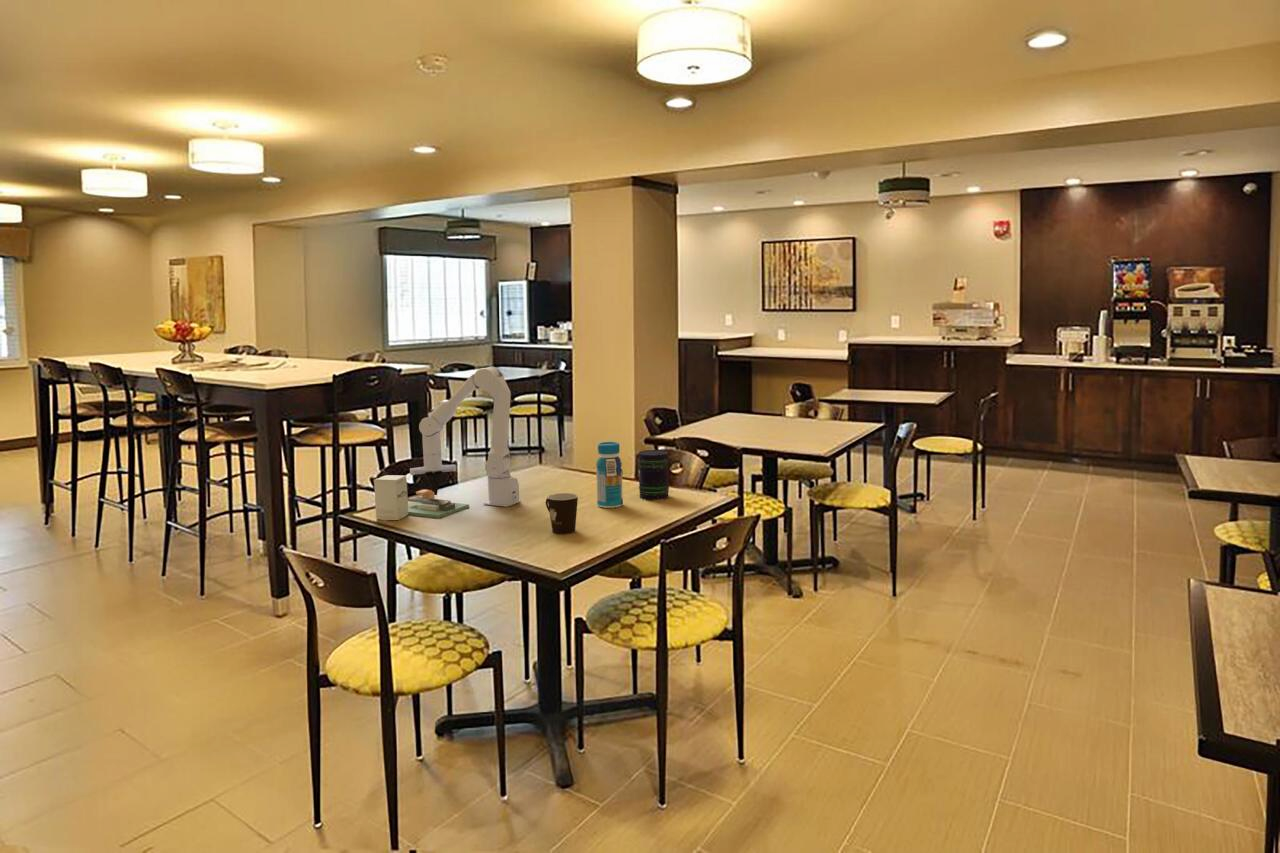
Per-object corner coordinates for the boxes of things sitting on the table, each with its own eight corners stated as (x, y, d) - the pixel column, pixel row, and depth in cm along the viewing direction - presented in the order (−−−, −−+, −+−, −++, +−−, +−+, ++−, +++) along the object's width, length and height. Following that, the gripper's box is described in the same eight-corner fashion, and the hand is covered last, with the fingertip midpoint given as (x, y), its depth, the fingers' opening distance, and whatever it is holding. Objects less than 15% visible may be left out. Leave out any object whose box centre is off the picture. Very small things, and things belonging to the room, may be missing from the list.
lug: (434, 501, 276) (434, 489, 276) (424, 504, 272) (423, 492, 271) (427, 500, 278) (426, 488, 277) (416, 503, 273) (415, 491, 272)
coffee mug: (582, 533, 237) (581, 498, 236) (551, 536, 235) (550, 501, 234) (573, 523, 248) (572, 490, 247) (544, 526, 246) (542, 492, 245)
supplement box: (398, 521, 255) (395, 480, 254) (375, 520, 257) (372, 479, 255) (409, 515, 262) (407, 475, 261) (387, 514, 264) (384, 474, 262)
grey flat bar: (450, 503, 267) (450, 500, 267) (443, 505, 263) (443, 503, 263) (414, 498, 273) (414, 496, 273) (407, 501, 270) (406, 498, 270)
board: (469, 507, 271) (468, 500, 271) (438, 518, 258) (438, 510, 257) (424, 502, 279) (423, 495, 278) (392, 513, 265) (392, 505, 265)
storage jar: (633, 496, 282) (632, 452, 280) (656, 492, 288) (655, 448, 285) (651, 501, 274) (650, 456, 272) (675, 497, 280) (674, 452, 278)
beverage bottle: (591, 507, 268) (590, 444, 265) (605, 501, 275) (603, 440, 273) (615, 509, 264) (613, 446, 261) (628, 503, 272) (626, 442, 269)
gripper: (411, 457, 270) (413, 499, 272) (457, 453, 276) (459, 494, 278) (408, 454, 277) (410, 494, 279) (453, 450, 282) (455, 490, 284)
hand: (434, 494), depth 279 cm, fingers closed
